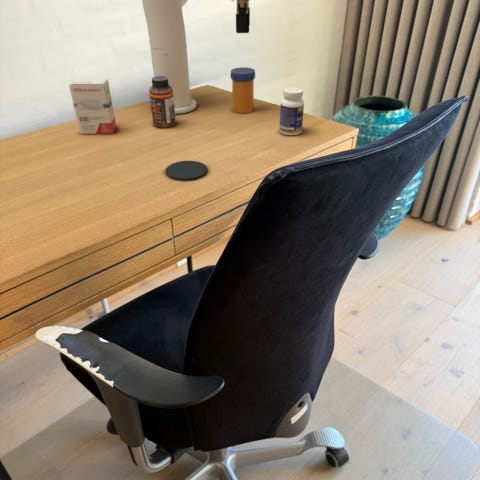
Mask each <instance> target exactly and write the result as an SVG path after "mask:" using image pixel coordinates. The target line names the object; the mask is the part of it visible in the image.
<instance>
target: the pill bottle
mask: <svg viewBox="0 0 480 480" xmlns="http://www.w3.org/2000/svg"><path fill="white" fill-rule="evenodd" d="M282 96H283V98H282V99H281V101H280V110H279V111H280V112H279V113H280V114H279V132H280V133H281V134H282V135H284V136H285V135H286V136H297V135H300V134H301V133H302V132H303V121H304V109H305V101H304V100H303V98H302V97H303V96H304V90H303V89H302V88H300V87H285V88H284V89H283V91H282Z"/></svg>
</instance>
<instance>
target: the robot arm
mask: <svg viewBox="0 0 480 480" xmlns="http://www.w3.org/2000/svg"><path fill="white" fill-rule="evenodd" d="M250 1H251V0H236V13H235V33H236V34H249V33H250V25H251V7H250ZM187 2H188V0H141V3H142V9H143V13H144V17H145V21H146V22H145V23H146V27H147V33H148V40H149V41H148V42H149V48H150V57H151V65H152V72H153V73H152V74H153V77H155V76H166V77H167V78H168V84H169V86H171V87H172V89H173V98H174V109H175V115H178V114H179V115H181V114H185V113H189V112H191V111H194V110H195V109H196V108H197V101H196V99H195V98H193V97H191V85H190V72H189V60H188V59H189V57H188V46H187V35H186V26H185V21H184V20H185V19H184V15H183V7H184V6H185V5H186V4H187ZM231 2H234V0H231ZM151 87H152V86H149V87H148V90H147V91H146V95H147V96H148V97H150V94H149V89H150V88H151Z"/></svg>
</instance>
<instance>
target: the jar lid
mask: <svg viewBox="0 0 480 480" xmlns="http://www.w3.org/2000/svg"><path fill="white" fill-rule="evenodd" d="M255 79H256V70H255V69H254V68H251V67H246V66H245V67H241V66H240V67H235V68H233V69H230V80H231V81H232V80H234V81H242V82H244V81H251V80H254V81H255Z"/></svg>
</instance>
